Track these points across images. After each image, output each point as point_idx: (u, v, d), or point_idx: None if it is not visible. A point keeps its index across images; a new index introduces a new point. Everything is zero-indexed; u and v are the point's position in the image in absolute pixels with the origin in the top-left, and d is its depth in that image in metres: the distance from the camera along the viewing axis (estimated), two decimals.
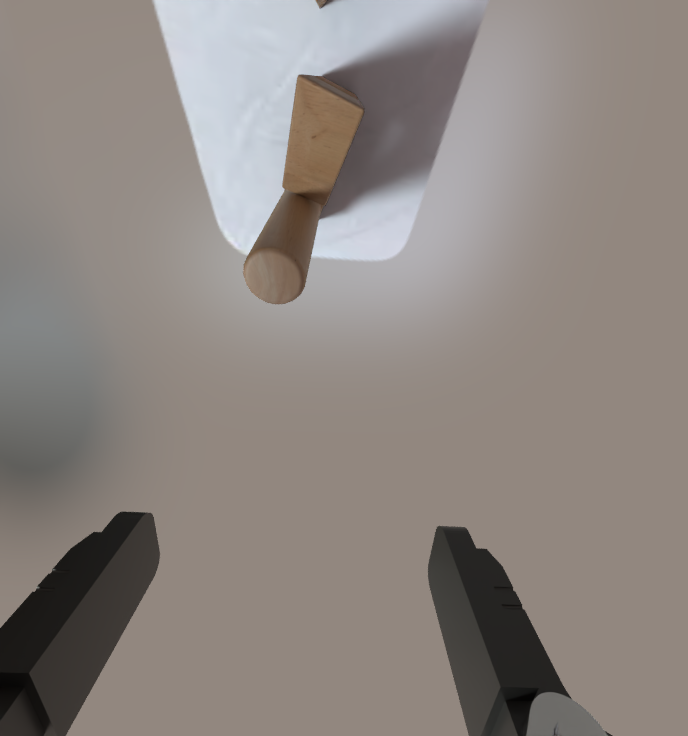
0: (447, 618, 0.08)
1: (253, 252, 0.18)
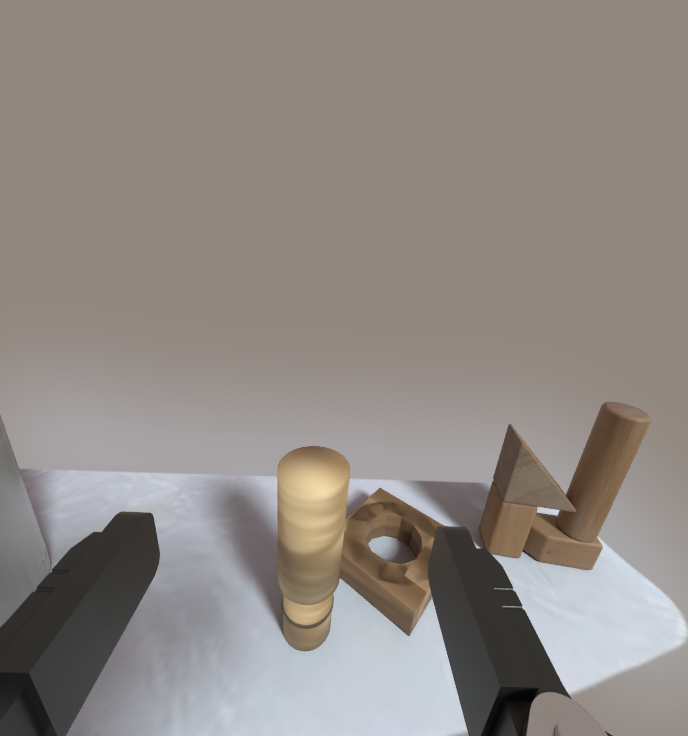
0: (447, 618, 0.08)
1: (624, 417, 0.28)
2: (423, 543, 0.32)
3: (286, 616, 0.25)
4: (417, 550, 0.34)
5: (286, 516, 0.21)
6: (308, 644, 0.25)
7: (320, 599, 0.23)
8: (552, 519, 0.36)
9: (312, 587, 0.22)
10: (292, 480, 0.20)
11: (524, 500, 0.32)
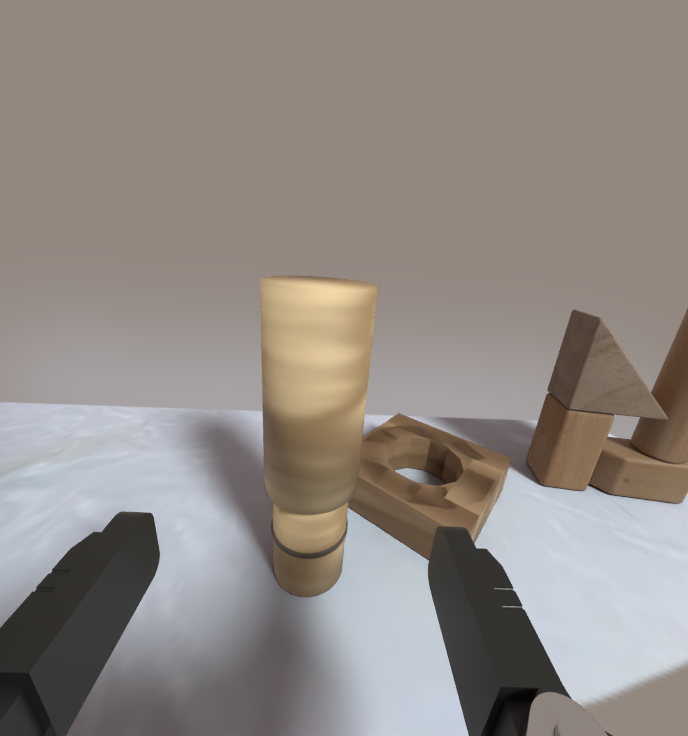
0: (447, 618, 0.08)
1: None
2: (464, 465, 0.24)
3: (278, 542, 0.17)
4: (453, 479, 0.26)
5: (275, 349, 0.13)
6: (311, 586, 0.17)
7: (330, 506, 0.15)
8: (625, 441, 0.28)
9: (318, 482, 0.14)
10: (284, 283, 0.12)
11: (597, 406, 0.24)
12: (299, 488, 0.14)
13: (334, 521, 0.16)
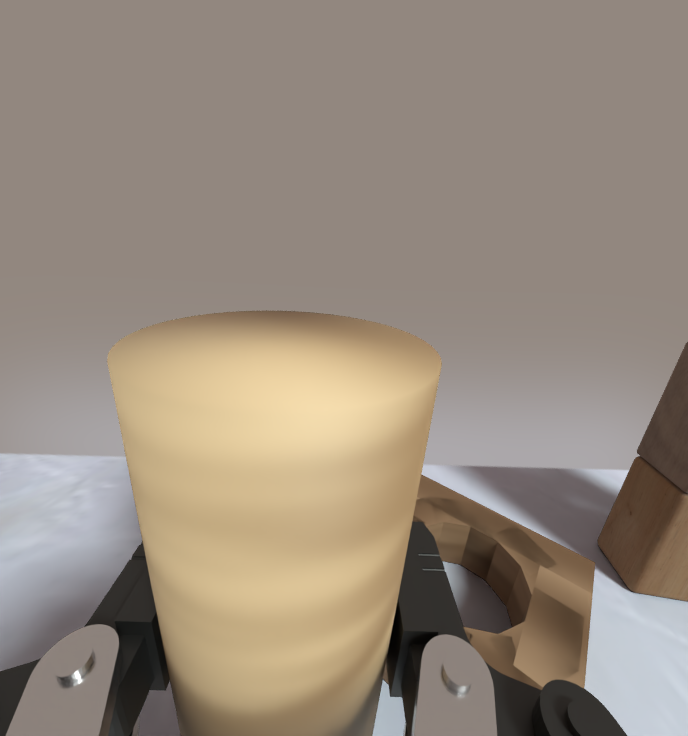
0: None
1: None
2: (529, 581, 0.16)
3: None
4: (507, 591, 0.17)
5: (151, 548, 0.04)
6: None
7: None
8: None
9: None
10: (170, 364, 0.04)
11: None
12: None
13: None
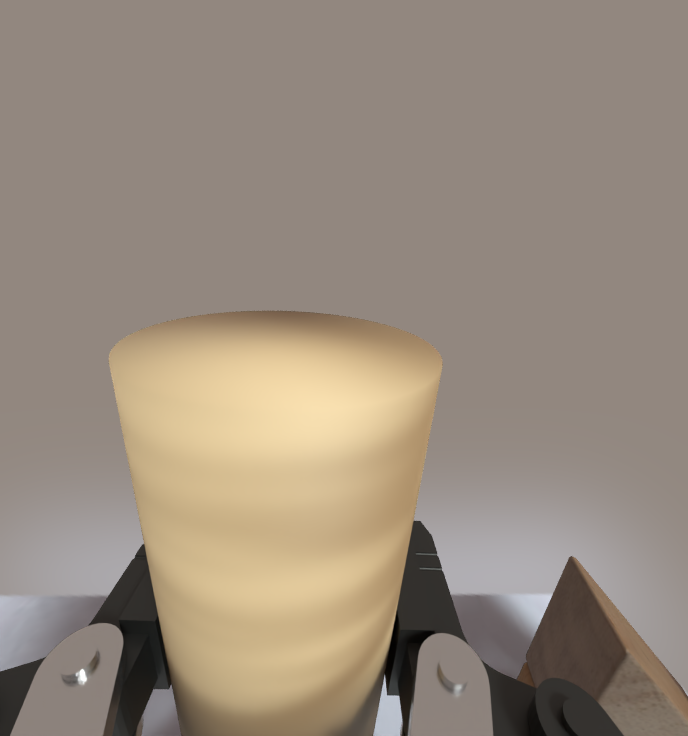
0: None
1: None
2: None
3: None
4: None
5: (152, 548, 0.04)
6: None
7: None
8: None
9: None
10: (172, 363, 0.04)
11: None
12: None
13: None
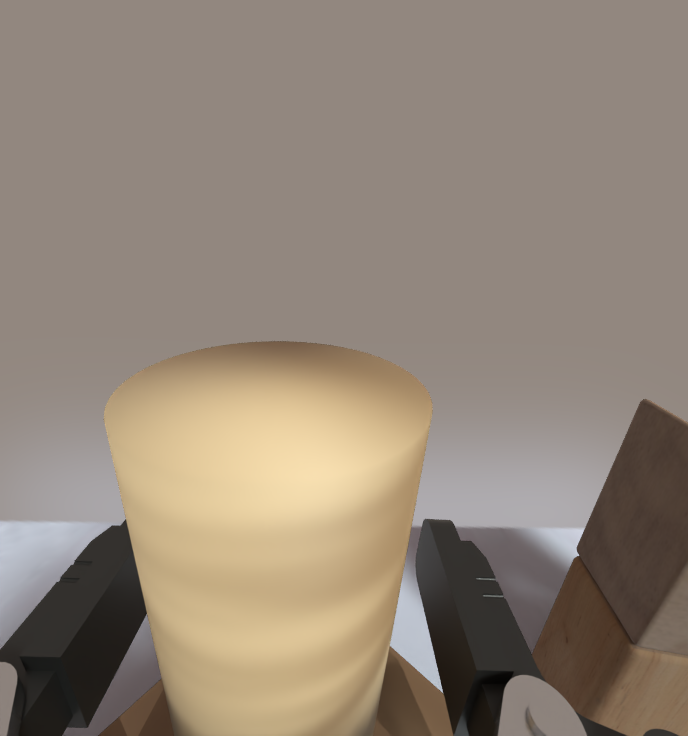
0: (432, 608, 0.08)
1: None
2: None
3: None
4: None
5: (148, 596, 0.04)
6: None
7: None
8: None
9: None
10: (165, 421, 0.04)
11: None
12: None
13: None
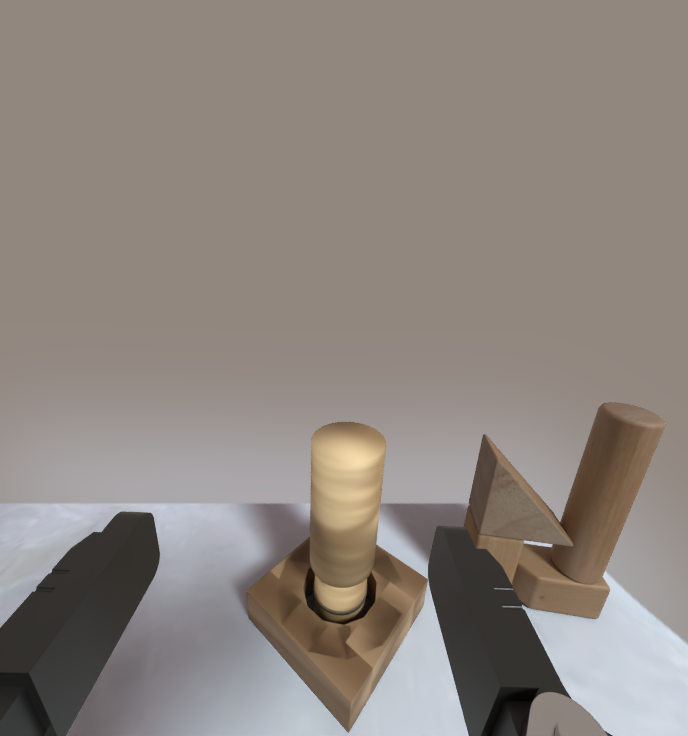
0: (447, 618, 0.08)
1: (629, 422, 0.21)
2: (377, 592, 0.25)
3: (320, 603, 0.24)
4: (373, 599, 0.27)
5: (323, 489, 0.20)
6: None
7: (357, 581, 0.22)
8: (546, 552, 0.28)
9: (349, 567, 0.21)
10: (329, 451, 0.20)
11: (506, 532, 0.25)
12: (337, 571, 0.22)
13: (359, 589, 0.23)
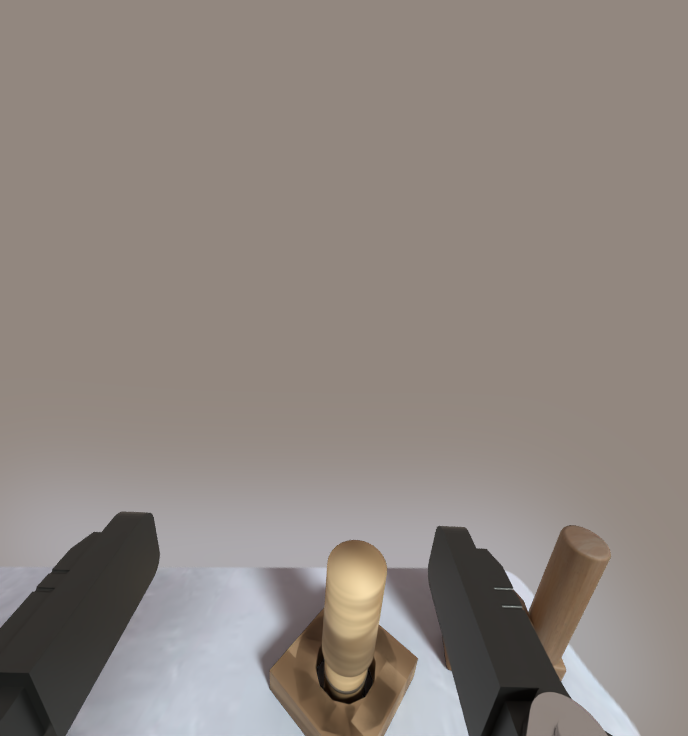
0: (447, 618, 0.08)
1: (582, 554, 0.27)
2: (376, 671, 0.30)
3: (329, 683, 0.29)
4: (372, 672, 0.32)
5: (336, 609, 0.25)
6: None
7: (361, 671, 0.28)
8: None
9: (355, 663, 0.27)
10: (342, 580, 0.25)
11: None
12: (345, 666, 0.27)
13: (362, 673, 0.29)
